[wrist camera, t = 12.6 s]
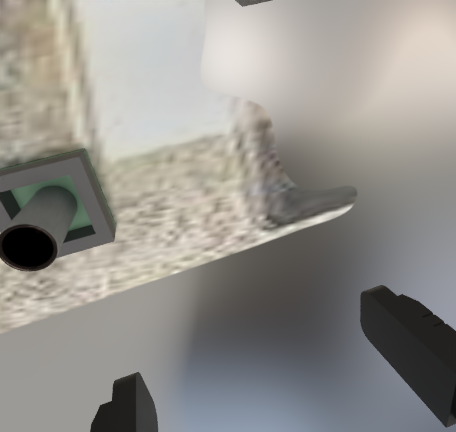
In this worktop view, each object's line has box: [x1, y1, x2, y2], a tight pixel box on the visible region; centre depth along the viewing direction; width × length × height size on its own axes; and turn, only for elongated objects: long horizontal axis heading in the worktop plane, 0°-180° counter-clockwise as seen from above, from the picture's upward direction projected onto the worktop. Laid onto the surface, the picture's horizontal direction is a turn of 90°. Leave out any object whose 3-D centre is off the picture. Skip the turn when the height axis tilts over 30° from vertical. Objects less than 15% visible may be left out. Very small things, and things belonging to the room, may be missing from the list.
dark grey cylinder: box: [0, 186, 77, 271], centre depth 31 cm, size 4×4×10 cm
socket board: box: [0, 149, 116, 258], centre depth 34 cm, size 10×10×4 cm
